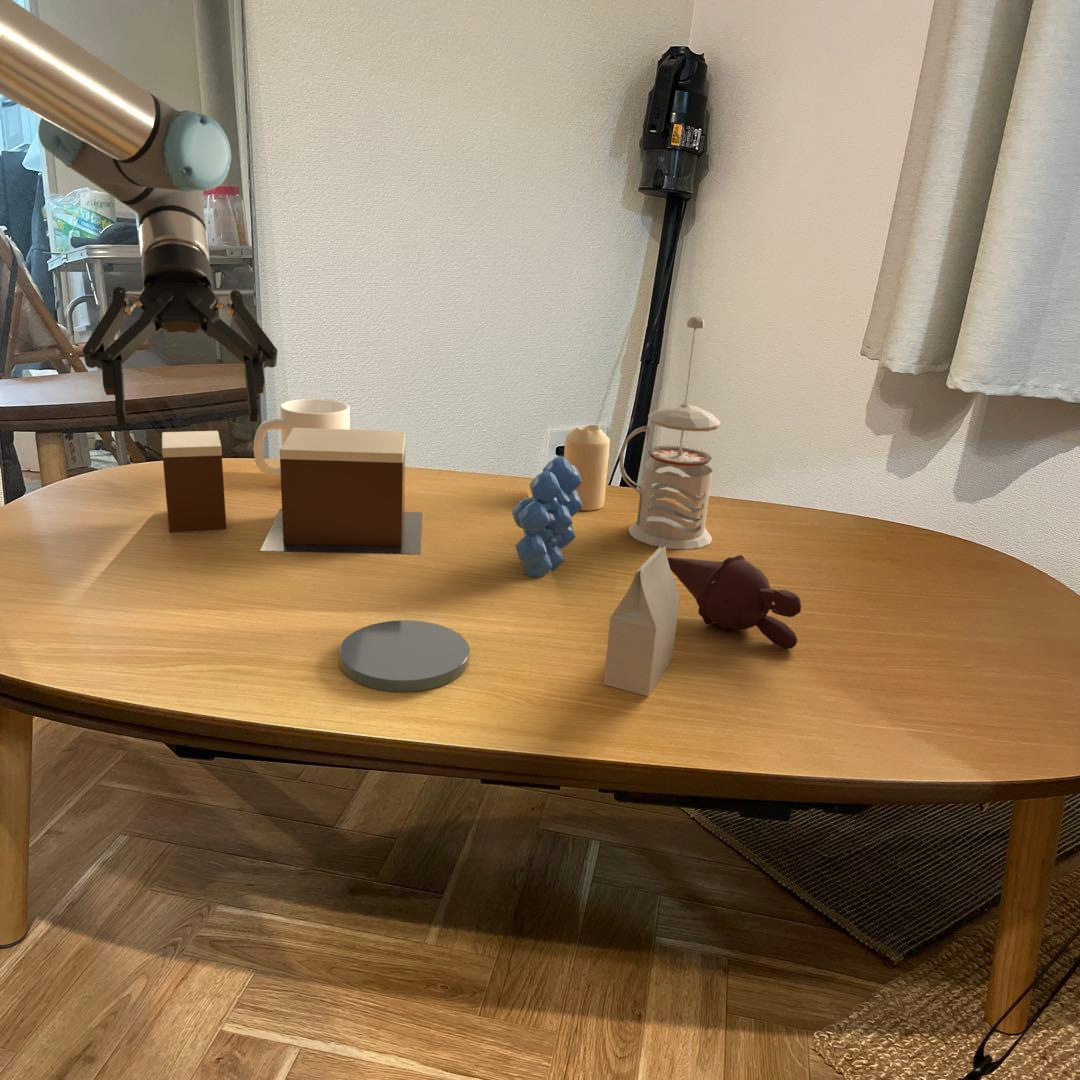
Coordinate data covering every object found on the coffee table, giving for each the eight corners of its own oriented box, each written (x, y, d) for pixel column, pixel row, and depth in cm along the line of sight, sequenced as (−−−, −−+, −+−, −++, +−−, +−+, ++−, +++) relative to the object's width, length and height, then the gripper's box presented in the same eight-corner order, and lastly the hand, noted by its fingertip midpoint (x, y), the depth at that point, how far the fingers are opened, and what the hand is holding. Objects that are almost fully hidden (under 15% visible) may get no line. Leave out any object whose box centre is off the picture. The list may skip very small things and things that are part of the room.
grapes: (532, 547, 98) (539, 440, 94) (589, 560, 96) (599, 451, 92) (482, 582, 88) (487, 465, 84) (544, 598, 86) (553, 478, 82)
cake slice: (170, 541, 93) (161, 448, 90) (169, 520, 99) (161, 432, 95) (226, 537, 95) (221, 446, 92) (223, 517, 101) (217, 430, 97)
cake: (283, 544, 92) (279, 449, 88) (295, 514, 100) (292, 427, 97) (401, 546, 93) (402, 453, 90) (404, 517, 102) (405, 431, 98)
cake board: (260, 560, 90) (259, 550, 90) (280, 516, 102) (280, 508, 102) (420, 563, 92) (420, 554, 92) (422, 520, 104) (422, 512, 104)
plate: (333, 692, 67) (332, 680, 67) (345, 629, 77) (345, 619, 77) (471, 692, 69) (472, 680, 68) (466, 630, 78) (467, 620, 78)
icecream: (639, 545, 83) (776, 616, 73) (691, 513, 87) (827, 576, 77) (639, 604, 87) (769, 678, 77) (689, 571, 91) (818, 637, 81)
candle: (581, 494, 117) (587, 419, 114) (612, 505, 114) (620, 428, 110) (551, 502, 113) (557, 424, 110) (583, 514, 110) (590, 434, 106)
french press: (712, 553, 100) (745, 325, 91) (609, 541, 102) (631, 315, 93) (711, 525, 109) (741, 315, 100) (616, 514, 111) (637, 306, 102)
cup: (361, 489, 113) (360, 410, 110) (268, 502, 106) (264, 418, 103) (334, 472, 119) (332, 396, 116) (244, 483, 112) (240, 403, 109)
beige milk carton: (671, 660, 76) (686, 550, 72) (648, 696, 70) (662, 578, 66) (630, 649, 77) (642, 541, 73) (603, 684, 71) (615, 568, 68)
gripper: (283, 286, 114) (303, 431, 106) (62, 279, 104) (66, 437, 97) (286, 245, 107) (308, 396, 99) (51, 234, 98) (55, 400, 90)
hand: (189, 417), depth 98 cm, fingers open, 13 cm apart
